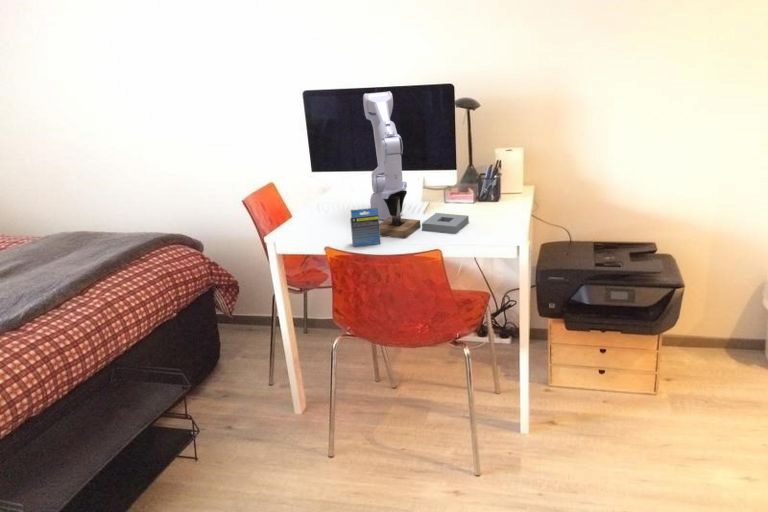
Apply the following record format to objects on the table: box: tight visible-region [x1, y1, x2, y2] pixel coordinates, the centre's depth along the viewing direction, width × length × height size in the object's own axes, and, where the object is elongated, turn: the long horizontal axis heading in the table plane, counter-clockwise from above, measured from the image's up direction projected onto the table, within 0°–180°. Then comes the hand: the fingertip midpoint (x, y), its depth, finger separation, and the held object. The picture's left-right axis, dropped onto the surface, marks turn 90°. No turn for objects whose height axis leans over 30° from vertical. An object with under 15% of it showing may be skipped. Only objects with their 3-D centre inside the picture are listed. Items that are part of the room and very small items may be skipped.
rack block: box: [421, 212, 470, 234], centre depth 206 cm, size 12×12×2 cm
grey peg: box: [392, 199, 402, 225], centre depth 203 cm, size 3×3×9 cm
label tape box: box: [349, 207, 381, 248], centre depth 194 cm, size 9×4×12 cm, turn 98°
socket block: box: [379, 217, 422, 239], centre depth 205 cm, size 12×12×2 cm
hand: (395, 213), depth 203 cm, fingers closed on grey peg, 3 cm apart
